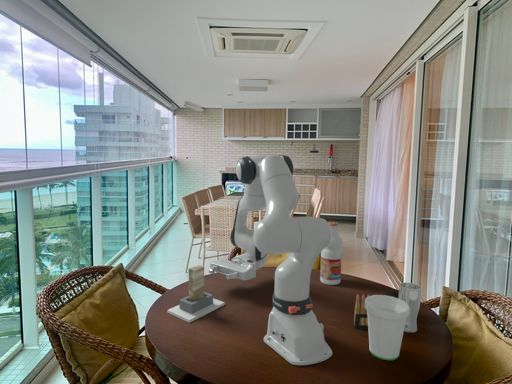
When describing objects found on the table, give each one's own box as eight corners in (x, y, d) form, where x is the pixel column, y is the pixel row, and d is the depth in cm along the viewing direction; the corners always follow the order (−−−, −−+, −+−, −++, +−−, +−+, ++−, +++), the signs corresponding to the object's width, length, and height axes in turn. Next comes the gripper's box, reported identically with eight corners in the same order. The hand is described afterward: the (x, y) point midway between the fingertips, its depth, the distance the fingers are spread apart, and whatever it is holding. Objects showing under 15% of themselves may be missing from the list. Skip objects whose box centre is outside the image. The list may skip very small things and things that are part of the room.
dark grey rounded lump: (379, 310, 128) (380, 289, 127) (395, 307, 130) (396, 287, 129) (392, 319, 121) (393, 298, 120) (409, 316, 123) (410, 295, 122)
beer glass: (405, 334, 111) (408, 291, 109) (391, 324, 117) (394, 283, 116) (423, 331, 113) (426, 289, 111) (408, 321, 119) (411, 281, 117)
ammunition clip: (354, 328, 114) (355, 294, 113) (353, 325, 116) (354, 292, 115) (386, 329, 114) (388, 295, 112) (384, 326, 116) (386, 293, 114)
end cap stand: (224, 304, 130) (224, 293, 130) (189, 322, 116) (189, 310, 116) (203, 296, 138) (202, 286, 137) (167, 312, 123) (167, 301, 123)
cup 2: (411, 367, 94) (415, 315, 92) (365, 362, 96) (368, 311, 94) (400, 342, 106) (403, 296, 104) (359, 338, 108) (361, 293, 106)
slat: (204, 304, 128) (204, 267, 126) (194, 309, 124) (194, 270, 122) (198, 302, 130) (198, 265, 128) (189, 307, 126) (188, 268, 124)
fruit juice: (325, 276, 163) (327, 219, 160) (343, 281, 157) (346, 222, 154) (316, 282, 155) (318, 222, 152) (335, 287, 150) (337, 225, 146)
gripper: (222, 254, 152) (200, 261, 141) (258, 263, 140) (237, 272, 129) (222, 267, 153) (200, 275, 142) (258, 278, 141) (237, 288, 130)
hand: (218, 274), depth 135 cm, fingers open, 8 cm apart
